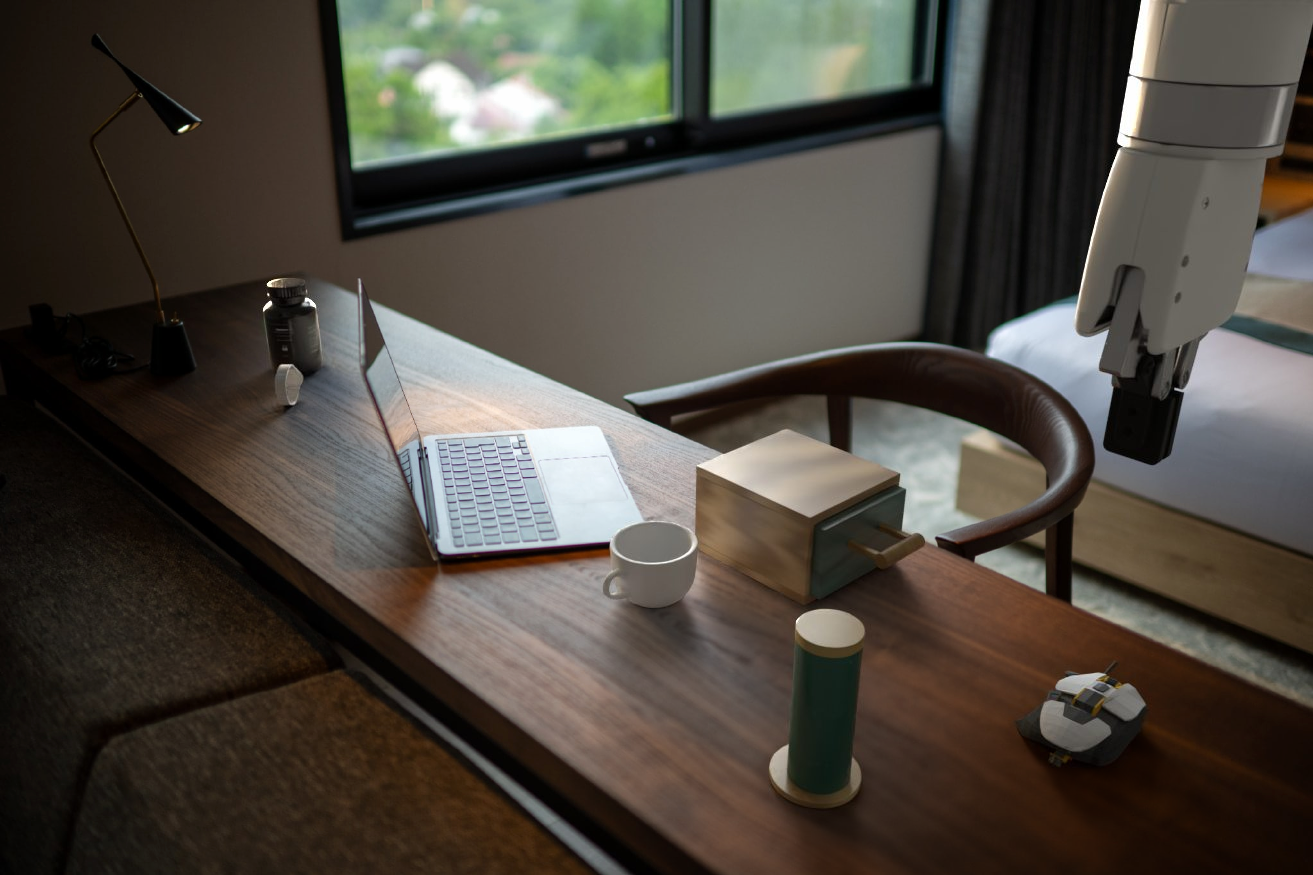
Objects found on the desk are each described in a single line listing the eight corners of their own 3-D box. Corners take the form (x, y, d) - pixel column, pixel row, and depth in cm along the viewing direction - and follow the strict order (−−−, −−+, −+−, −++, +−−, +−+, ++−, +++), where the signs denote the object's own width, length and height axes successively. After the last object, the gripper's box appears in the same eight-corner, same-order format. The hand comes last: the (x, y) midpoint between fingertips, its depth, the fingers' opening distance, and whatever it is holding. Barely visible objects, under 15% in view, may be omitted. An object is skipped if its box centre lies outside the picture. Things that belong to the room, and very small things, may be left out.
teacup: (652, 562, 103) (653, 512, 101) (714, 593, 98) (716, 541, 96) (574, 605, 97) (572, 551, 94) (636, 640, 92) (636, 584, 90)
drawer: (940, 573, 100) (948, 506, 97) (861, 621, 93) (867, 550, 90) (797, 507, 111) (800, 445, 109) (716, 546, 104) (718, 481, 101)
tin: (840, 748, 79) (853, 606, 74) (859, 792, 75) (874, 645, 70) (779, 753, 78) (788, 611, 73) (794, 798, 74) (805, 650, 69)
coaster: (846, 742, 80) (846, 736, 80) (873, 804, 74) (873, 798, 74) (760, 749, 79) (760, 744, 79) (780, 812, 74) (781, 807, 73)
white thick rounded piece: (306, 396, 141) (301, 359, 139) (294, 411, 136) (289, 373, 134) (283, 396, 141) (278, 359, 139) (271, 411, 136) (265, 373, 134)
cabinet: (891, 556, 104) (900, 473, 101) (804, 606, 97) (810, 517, 93) (782, 506, 114) (787, 428, 110) (694, 547, 106) (696, 465, 102)
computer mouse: (1171, 697, 85) (1182, 654, 83) (1092, 796, 75) (1102, 749, 74) (1078, 658, 90) (1087, 617, 88) (992, 746, 80) (999, 702, 78)
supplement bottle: (261, 373, 148) (248, 287, 143) (289, 357, 154) (278, 273, 149) (306, 379, 146) (294, 292, 141) (333, 362, 152) (322, 277, 147)
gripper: (1193, 97, 61) (1133, 401, 69) (1056, 123, 52) (1004, 471, 60) (1340, 111, 56) (1258, 438, 64) (1217, 143, 47) (1138, 520, 55)
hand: (1135, 453), depth 62 cm, fingers closed
